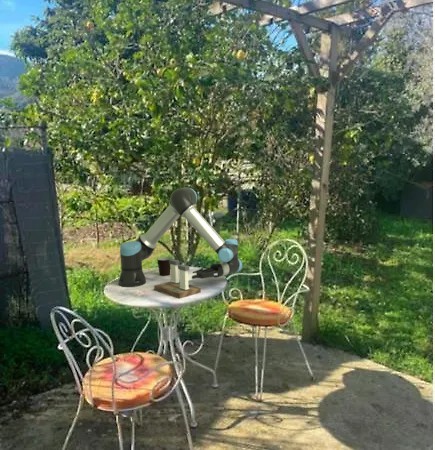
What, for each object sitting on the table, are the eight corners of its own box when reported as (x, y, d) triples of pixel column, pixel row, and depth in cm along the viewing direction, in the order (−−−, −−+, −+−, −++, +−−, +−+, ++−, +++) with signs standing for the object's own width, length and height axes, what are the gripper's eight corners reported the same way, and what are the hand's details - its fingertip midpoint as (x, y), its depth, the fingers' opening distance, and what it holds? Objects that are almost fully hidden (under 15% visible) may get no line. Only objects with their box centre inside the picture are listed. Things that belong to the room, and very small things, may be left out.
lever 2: (182, 286, 232) (181, 264, 230) (190, 289, 227) (189, 266, 226) (178, 287, 230) (178, 265, 228) (186, 290, 226) (185, 267, 224)
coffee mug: (169, 276, 265) (168, 260, 264) (155, 276, 267) (155, 260, 266) (175, 271, 277) (174, 256, 275) (161, 271, 278) (161, 255, 277)
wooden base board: (175, 284, 247) (174, 280, 247) (200, 292, 231) (200, 287, 231) (154, 290, 238) (154, 285, 237) (179, 298, 222) (179, 293, 222)
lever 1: (173, 280, 245) (172, 259, 243) (180, 282, 241) (179, 260, 239) (169, 281, 243) (168, 260, 242) (176, 283, 239) (175, 261, 237)
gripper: (227, 278, 240) (194, 287, 224) (211, 274, 250) (178, 282, 234) (227, 264, 239) (194, 273, 223) (211, 261, 249) (178, 268, 233)
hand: (186, 278), depth 229 cm, fingers closed
